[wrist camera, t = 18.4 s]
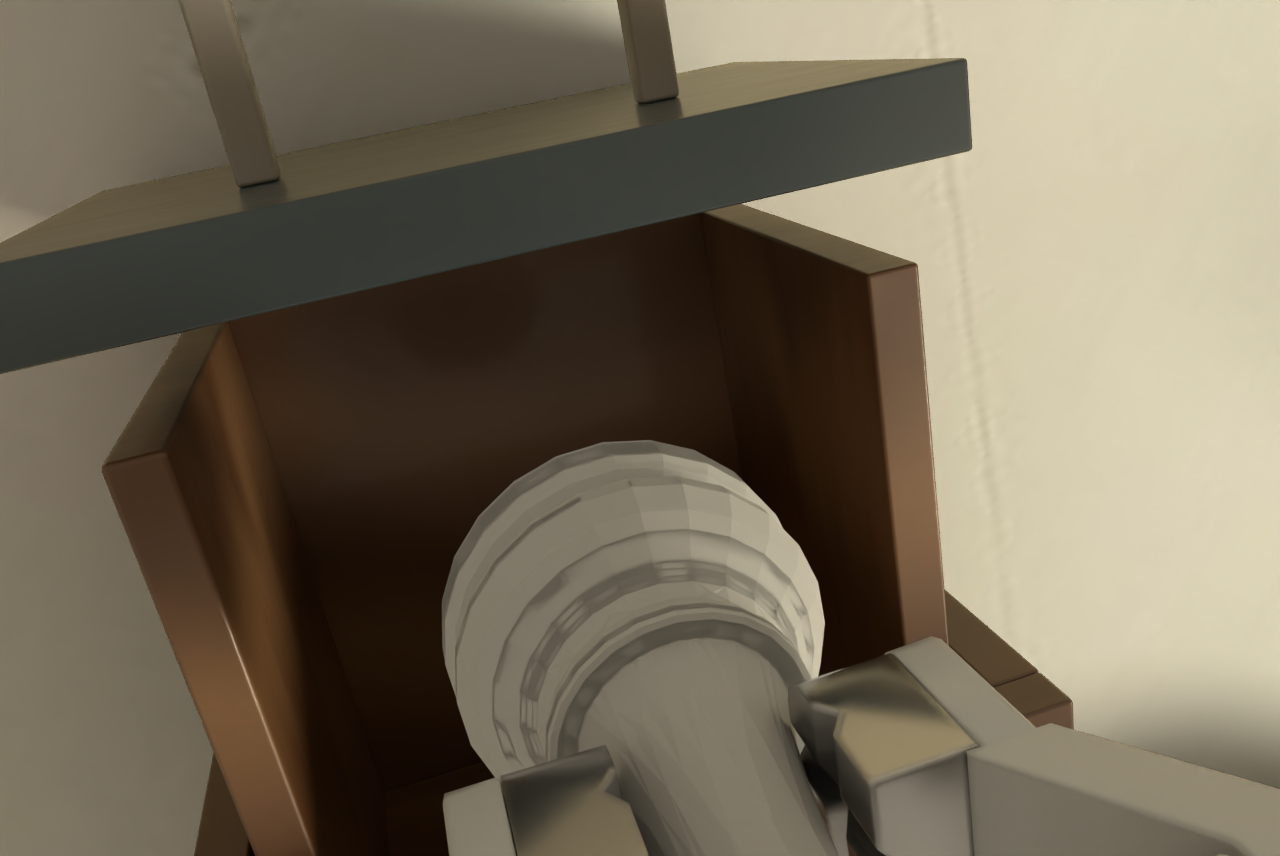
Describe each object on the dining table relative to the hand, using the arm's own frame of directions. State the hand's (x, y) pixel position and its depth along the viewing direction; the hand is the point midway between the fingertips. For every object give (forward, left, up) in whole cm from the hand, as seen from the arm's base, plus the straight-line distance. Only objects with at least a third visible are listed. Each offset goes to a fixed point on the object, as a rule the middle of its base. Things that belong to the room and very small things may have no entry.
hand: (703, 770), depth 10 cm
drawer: (0, 0, -14) cm, 14 cm away
